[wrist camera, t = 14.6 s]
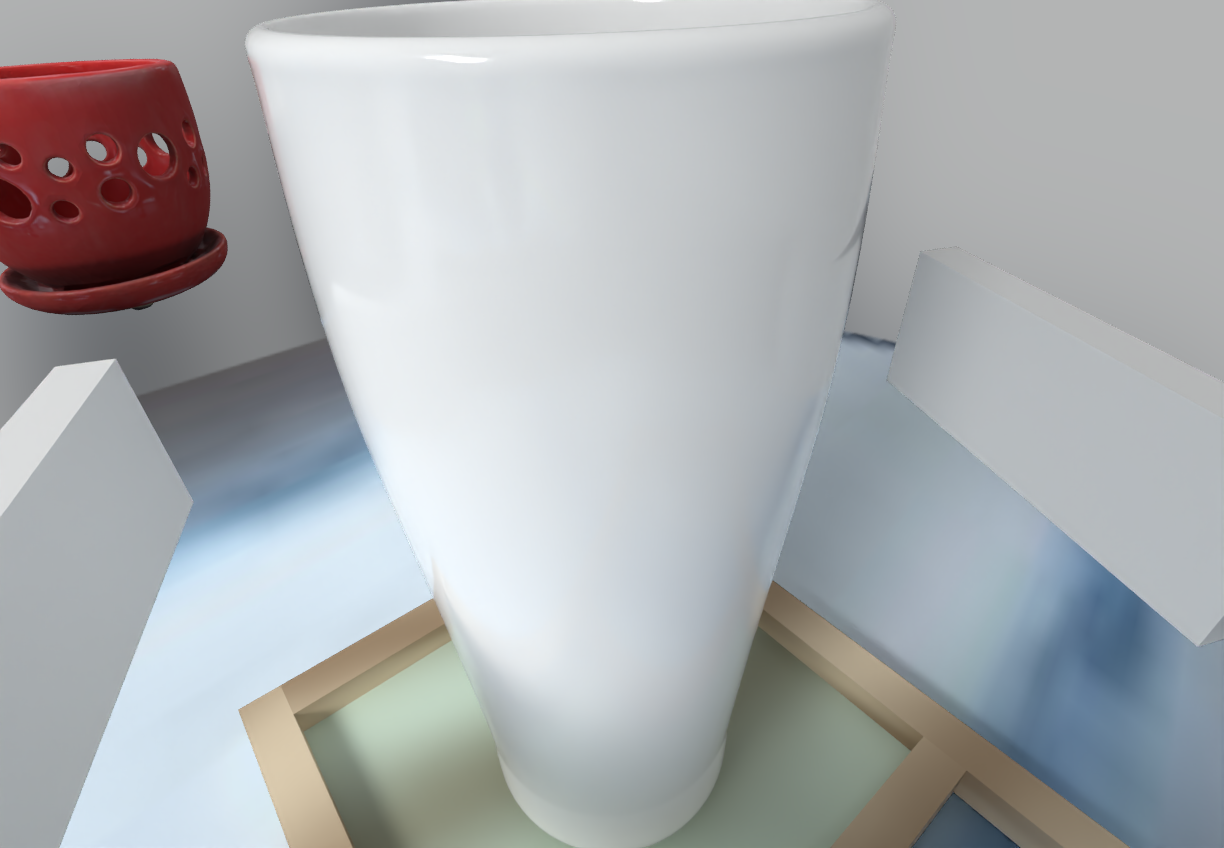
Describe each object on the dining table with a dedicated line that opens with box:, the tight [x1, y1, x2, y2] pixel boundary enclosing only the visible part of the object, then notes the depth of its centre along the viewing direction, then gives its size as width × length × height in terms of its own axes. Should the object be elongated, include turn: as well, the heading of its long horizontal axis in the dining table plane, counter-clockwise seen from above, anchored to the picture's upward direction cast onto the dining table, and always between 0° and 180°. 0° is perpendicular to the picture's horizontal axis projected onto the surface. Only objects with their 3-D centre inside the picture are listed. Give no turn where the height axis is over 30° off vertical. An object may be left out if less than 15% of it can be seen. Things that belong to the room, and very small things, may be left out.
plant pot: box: [0, 59, 227, 315], centre depth 37 cm, size 13×13×12 cm
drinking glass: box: [245, 0, 896, 848], centre depth 11 cm, size 7×7×15 cm
